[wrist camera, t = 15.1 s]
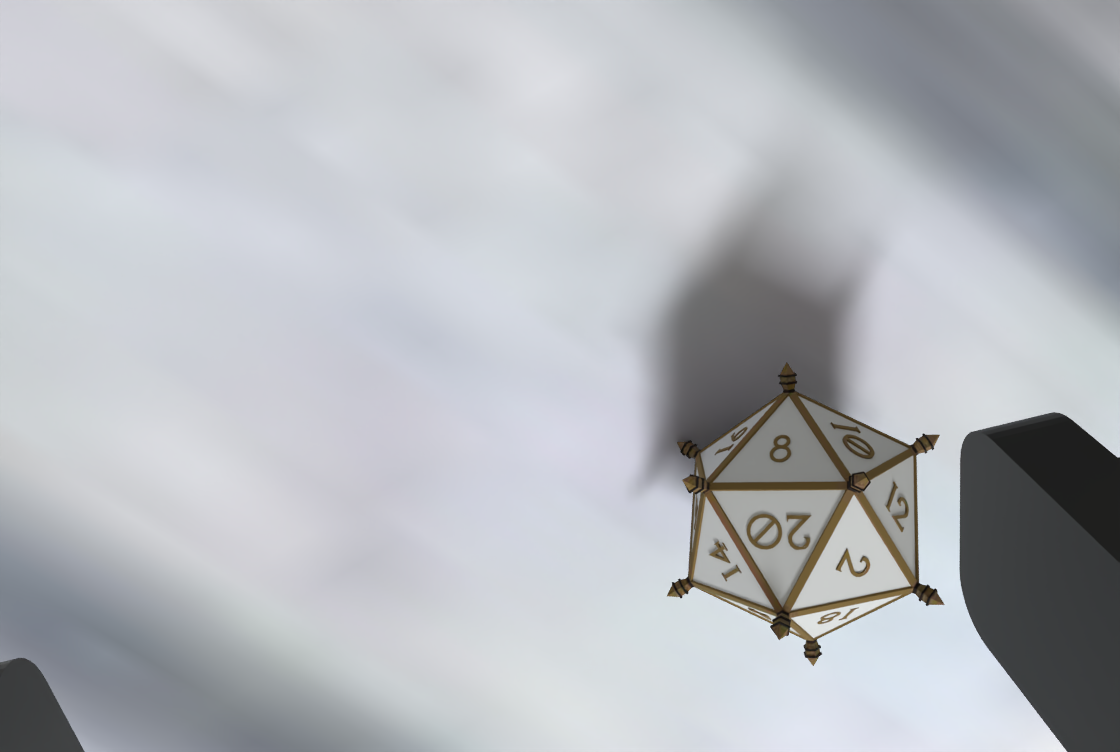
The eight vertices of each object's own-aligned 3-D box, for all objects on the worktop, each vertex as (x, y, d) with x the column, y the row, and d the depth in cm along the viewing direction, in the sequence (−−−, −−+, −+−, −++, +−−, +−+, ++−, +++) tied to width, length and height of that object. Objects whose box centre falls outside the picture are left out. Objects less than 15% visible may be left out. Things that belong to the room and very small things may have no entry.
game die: (681, 477, 41) (617, 688, 34) (705, 295, 36) (635, 498, 29) (919, 530, 40) (907, 766, 32) (982, 347, 34) (984, 578, 27)
